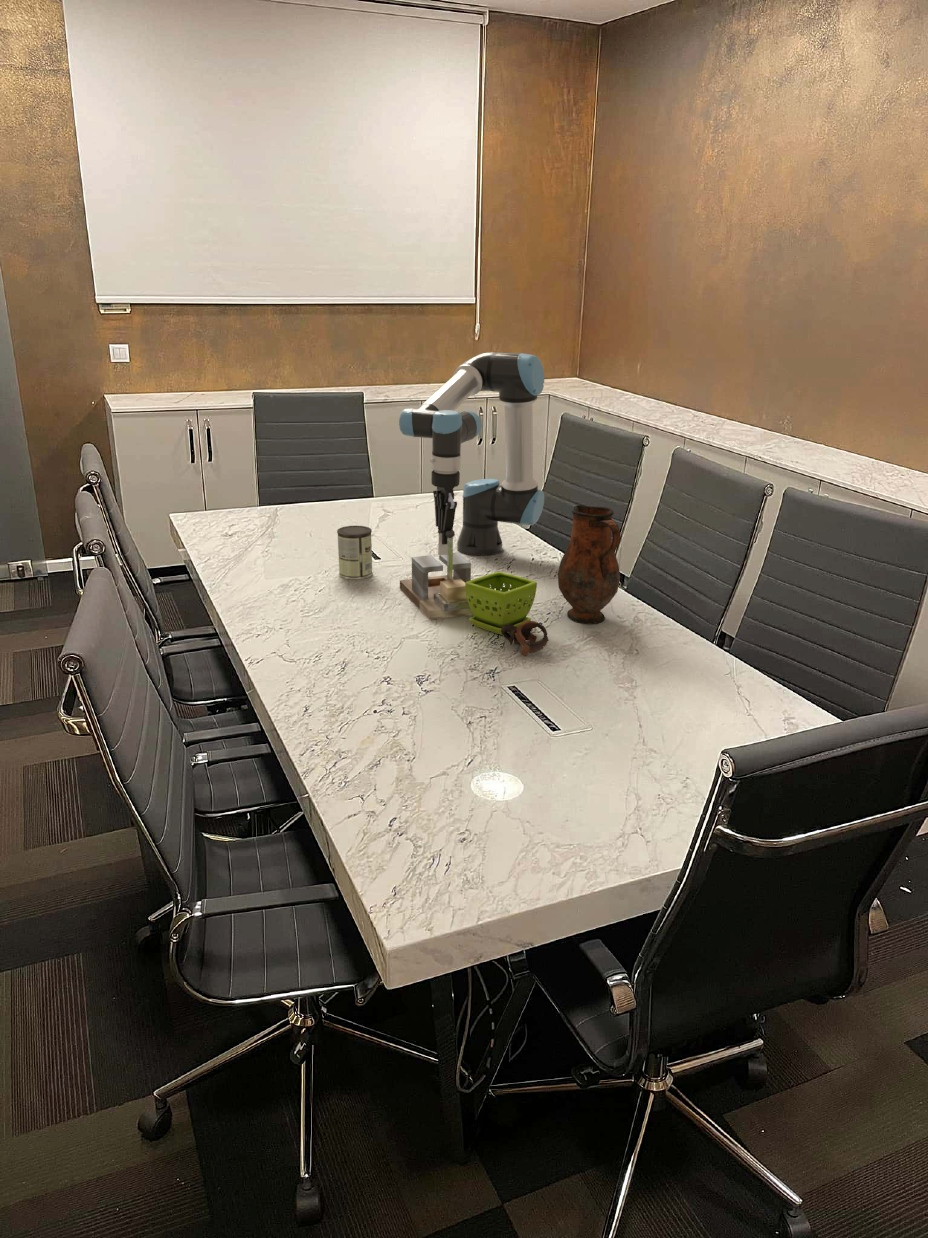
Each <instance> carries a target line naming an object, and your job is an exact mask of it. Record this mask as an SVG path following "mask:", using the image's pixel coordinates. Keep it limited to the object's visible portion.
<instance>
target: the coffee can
mask: <svg viewBox="0 0 928 1238" xmlns="http://www.w3.org/2000/svg"><path fill="white" fill-rule="evenodd" d="M372 532H373V531H372V528H371V527H368V526H364V525H347V526H342V527H340V528H338V529H337V530H336V533H337V549H338V550H337V551H338V554H337V555H338V573H339V574H338V575H339V577H340V578H342V579H345V580H351V581H352V580H355V581H356V580H357V581H358V580H365V579H368V578H370V577H372V576H373V556H372V555H373V552H372V551H373V549H372Z"/></svg>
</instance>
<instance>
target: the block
mask: <svg viewBox="0 0 928 1238" xmlns="http://www.w3.org/2000/svg"><path fill="white" fill-rule="evenodd" d="M440 596H441V597H442V598H443V599H444V600H445V601H446V602H447V603H449V602H457V601H466V600H467V596H466V589H465V582H464V581H462V580H461V579H457V580H447V581H440Z"/></svg>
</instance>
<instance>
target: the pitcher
mask: <svg viewBox="0 0 928 1238" xmlns="http://www.w3.org/2000/svg"><path fill="white" fill-rule="evenodd" d="M571 513H572V518H573V519H572V520H573V521H572V530H571V535H570V540H569V542H568V545H567V547H566V549H565V551H564V553H563V555H562V557H561V560H560V562H559V566H558V570H557V585H558V589H559V591H560V593H561V594H562V596H563V598H564V599H565V600H566V602H567V603H568V604H569V606H571V608H570V609H569V610H568V611H567V614H566V616H567V618H569V619H570V620H571V621H572V622H575V623H580V624H582V625H583V624H584V625H595V624H596V625H597V624H600V623H603V622H604V621H605V619H606V616H605V614H604V612H602V610H603V609H604V608H605V607H606V606H607V605H608V604H609V603H611V602H612V600H613V598H614V597H615V596H616V595H617V593H618V590H619V586H620V582H621V574H620V565H619V563H618V559H617V555H616V553H615V551H616V549H618V547H619V546H620V544H621V531H620V528H619V526H618V524H617V523H616V522H617V521H615V520H614V519H613V517H614V516H613V515H614V514H615V513H614V510H613V509H612V508H609V507H606V506H593V505H592V506H590V505H583V504H577V505H574V507H573V509H572V510H571Z"/></svg>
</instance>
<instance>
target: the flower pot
mask: <svg viewBox="0 0 928 1238" xmlns="http://www.w3.org/2000/svg"><path fill="white" fill-rule="evenodd" d="M537 586H538V582H537V581H535V580H532V579H529V578H526V577H522V576H517V575H516V574H515V575H514V574H511V573H507V572H503V571H496V572H493V573H488V574H486V575H482V576H479V577H476V578H472V579H471V580H470V581H467V582H466V583H465V589H466V596H467V600H468V604H469V607H470V609H471V611H472V613H473V616H472V617H470V618H468V619H469V622H470V623H472V625H474V626H475V627H478V628H481V629H483V630H485V631H488V632H492V633H494V634H497V635H501V636H503V635H502V633H501V629H502V627H503V626H504V625H506V624H510V625H513V626H516V627H517V626H519V625H521V624H522V623H523V622H526V621H532V618H530V617H528V615H529V613H530V611H531V610H532V607H533V604H534V601H535V598H536V594H537V588H538V587H537ZM508 633H509V632H508ZM509 634H510V633H509Z"/></svg>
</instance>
